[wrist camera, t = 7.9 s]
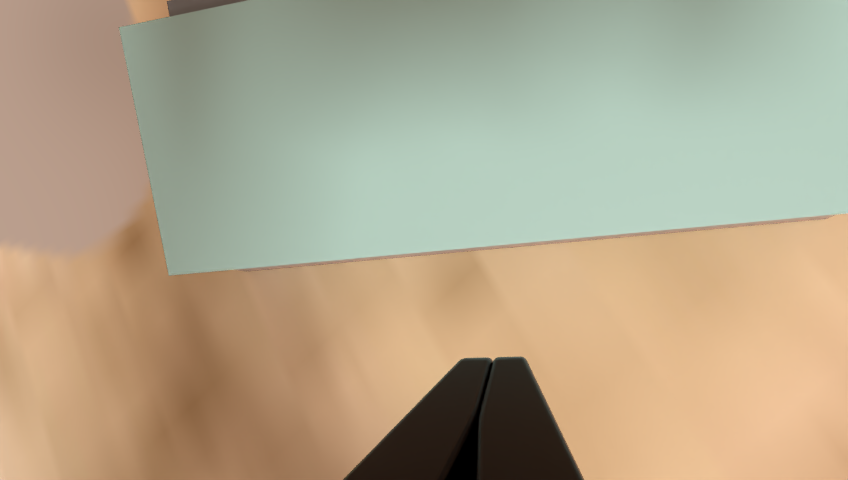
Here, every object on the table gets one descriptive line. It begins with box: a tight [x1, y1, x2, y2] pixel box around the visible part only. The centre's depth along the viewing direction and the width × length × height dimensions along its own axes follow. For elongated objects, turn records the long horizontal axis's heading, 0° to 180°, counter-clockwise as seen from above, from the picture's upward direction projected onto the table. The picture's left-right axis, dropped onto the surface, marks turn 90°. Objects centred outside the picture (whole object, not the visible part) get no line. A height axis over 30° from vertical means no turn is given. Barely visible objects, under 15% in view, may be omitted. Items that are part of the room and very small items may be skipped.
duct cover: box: [119, 0, 848, 276], centre depth 20 cm, size 9×22×2 cm, turn 94°
